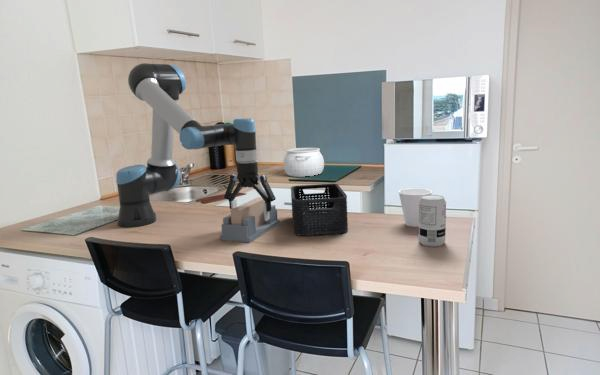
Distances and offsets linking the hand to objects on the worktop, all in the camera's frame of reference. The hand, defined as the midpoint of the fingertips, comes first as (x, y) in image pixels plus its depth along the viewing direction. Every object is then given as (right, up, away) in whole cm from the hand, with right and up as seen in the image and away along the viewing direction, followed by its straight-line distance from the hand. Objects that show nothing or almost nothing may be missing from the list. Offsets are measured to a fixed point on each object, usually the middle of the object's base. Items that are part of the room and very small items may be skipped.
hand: (250, 218), depth 158 cm
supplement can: (+60, -6, -21) cm, 64 cm away
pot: (+21, +20, +121) cm, 124 cm away
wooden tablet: (-21, +6, +62) cm, 65 cm away
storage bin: (+25, -3, +6) cm, 26 cm away
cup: (+61, -2, 0) cm, 61 cm away
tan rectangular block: (0, -3, +1) cm, 3 cm away
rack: (0, -5, +1) cm, 5 cm away
